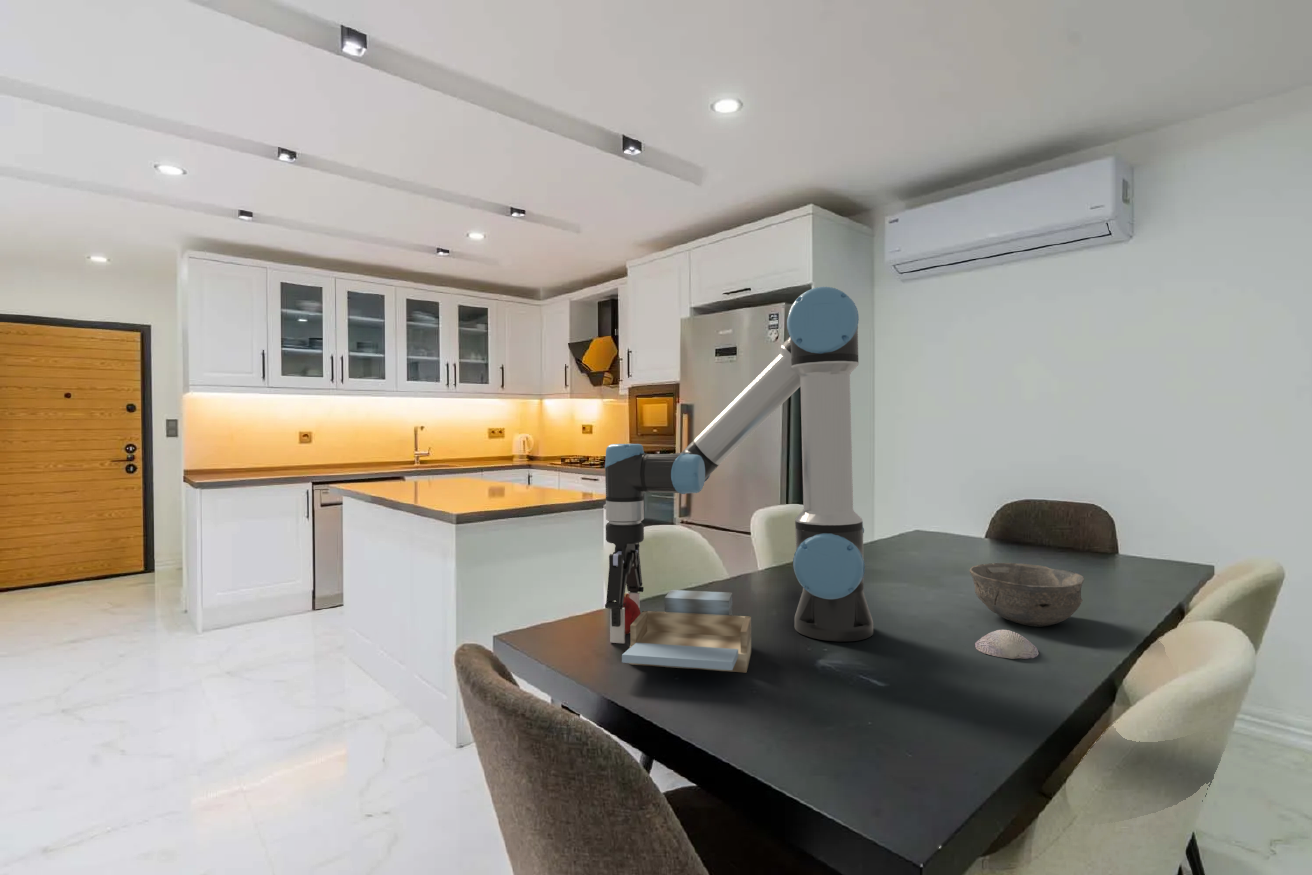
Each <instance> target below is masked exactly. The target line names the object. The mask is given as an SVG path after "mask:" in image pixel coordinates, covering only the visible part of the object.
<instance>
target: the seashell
mask: <svg viewBox="0 0 1312 875" xmlns="http://www.w3.org/2000/svg"><path fill="white" fill-rule="evenodd" d="M974 646H975V649H976V650H977V651H979V652H980V653H981V654H987V655H989V656H993V657H996V658H997V657H998V658H1003V659H1009V660H1014V659H1016V660H1017V659H1023V660H1027V659H1034V658H1037V657H1038V656H1039V650H1038V648H1037V647H1036V646H1035V644H1033V643H1032V642H1031V641H1030V640H1028V639H1027V638H1026V637H1024V636H1023V635H1021V634H1019V633H1018V632H1015V631H1012V630H1009V629H1008V630H1007V629H997V630H993V631H990V632H988V633H987V634H986V635H983V636H981V638H979V639H978V640H976V642H975V643H974Z"/></svg>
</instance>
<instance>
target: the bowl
mask: <svg viewBox="0 0 1312 875" xmlns="http://www.w3.org/2000/svg"><path fill="white" fill-rule="evenodd" d="M969 574H970V576H971V577H972V580H973V585H974V592H975V594H976V597H977V598H978V599H979V600H980V601H981V602H982V604H984V605H985V606H986V608H987V609H989V610H990V611H991V612H993V613H994V614H996V615H998V616H999V617H1002V618H1003V619H1005V620H1007V621H1011V622H1012V623H1013V622H1014V623H1017V624H1019V625H1024V626H1028V627H1048V626H1053V625H1055V624H1056V625H1058V624H1059V623H1062V622H1064V621H1065V620H1067V619H1068V618H1071V616H1072V615H1073V614H1074V613H1075V612H1076V611H1078V609H1079V608H1080V606H1081V605H1082V602H1083V599H1082V586H1083V584H1084V581H1085V576H1083V575H1081V574H1079V573H1077V572H1075V571H1073V570H1072V571H1071V570H1066V569H1058V568H1049V567H1048V566H1045V565H1037V564H1028V563H1013V562H993V563H985V564H982V563H981V564H978V565H973V566H972V567H971V568H970V569H969Z"/></svg>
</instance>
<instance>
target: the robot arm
mask: <svg viewBox="0 0 1312 875" xmlns="http://www.w3.org/2000/svg"><path fill="white" fill-rule="evenodd" d="M786 319H787V320H786V328H787V332H788V335H789V337H788V338H787V339H786V340H785V341H784V342H782V344H781V345H780V353H779V354H778V355H777V356H776V357H775V358H774V359H773V360H772V361H771V362H770V363H769V364H768V365H767V366H766V367H765V368H764V369H763V370H762V371H761V372H760V373H759V374H758V375H757V376H756V377H755V378H754V379H753V380H752V381H751V382H750V383H749V384H748V385H747V386H746V387H745V388H744V389H743V390H742V392H740V393H739V394H738V395H737V396H736V397H735V398H734V400H732V402H730V403H729V404H728V405H727V406H726V407H725V408H724V409H723V410H722V411H721V412H720V413H719V414H718V415H717V416H716V417H715V418H714V419H713V420H712V421H711V422H710V423H709V424H708V425H707V426H706V427H705V428H704V430H702V431H701V433H699V434H698V435H697V436H696V437H695V438H694V440H693V441H691V442H690V443H689V444H688V445H687V446H686V447H685V448H684V449H683V450H682V451H681V452H678V453H657V454H656V453H654V454H653V453H645V451H644V446H643V444H641V443H611V444H609V445H607V447H606V449H605V462H604V464H605V465H604V470H605V471H604V472H605V473H604V474H605V476H604V477H605V480H604V481H605V504H603V506H602V507H603V508H602V509H604V510H605V519H606V521H607V522H606V524H605V541H606V542H607V543H609V544H613V545H614V551H613V553H609V555H608V565H609V568H608V580H607V592H606V602H605V604H604V608H605V609H608V610H609V643H614V644H615V643H616V644H625V643H626V634H625V608H623V602H624V595H625V593H628V594H629V595H630V596H629V597H630V599H632V600H633V601H635V602H636V604H637V605H638V607H639V609H640V608H641V607H640V606H641V605H640V593H643V592H644V588H645V587H644V586H643V579H642V576H643V575H642V569H641V566H642V565H641V558H640V557H641V556H640V543H642V542H643V541H644V539H645V532H644V531H645V524H644V523H643V522H642V521H643V520H644V519H645V511H644V509H645V506H644V505H645V502H644V494H645V493H664V494H665V493H668V494H669V493H670V494H681V495H686V494H697V493H700V492H701V491H702V490H703V488H704V485H705V482H706V481H707V480H708V479H709V478H710V477H711V474H712V473H713V472H714V471H715V470H717V468H718V467H719V466H720V465H721V464H722V463H723V462H724V461H725V460H726V459H727V458H728V457H729V456H730V455H731V454H732V453H733V452H734V451H735V450H737V448H738V447H740V446H741V445H742V444H743V443H744V442H745V441H746V440H747V439H748V438H749V437H750V436H751V435H752V434H753V433H754V432H756V430H757V429H758V428H759V427H760V426H761V425H762V424H763V423H764V422H765V421H767V420H768V419H769V417H771V415H773V414H774V412H776V411H777V410H778V408H781V406H782V405H783V404H784V403H785V402H786V401H787V400H788V399H789V398H790V397H791V396H792V395H793V394H795V392H797V390H798V389H799V388H800V417H801V419H800V420H801V423H800V424H801V459H802V461H801V462H802V463H801V464H802V465H801V466H802V501H803V504H802V505H803V506H802V507H803V509H802V511H801V512H800V513H799V514H798V515H797V516H796V517H795V519H794V520H795V521H794V522H795V523H794V524H795V528H794V531H795V551H794V553H793V558H792V568H793V572H794V574H795V577H796V579H797V581H798V583H799V585H801V587H802V593H801V594H800V598H799V602H798V605H797V608H796V612H795V615H794V629H795V631H796V632H797V633H799V634H801V635H803V636H805V637H808V638H811V639H817V640H821V641H827V642H855V641H856V642H857V641H862V640H866V639H869V638H871V636H873V635H874V621H873V617H872V614H871V611H870V608H869V606H868V602H867V598H866V596H865V593H864V592H865V590H864V582H865V581H864V576H865V571H866V569H865V568H866V566H865V560H864V533H865V529H864V523H863V518H862V517H861V516H860V515H859V514H858V513H857V512H856V511H855V510H854V496H853V491H854V490H853V450H852V448H853V446H852V444H853V442H852V412H851V410H852V408H851V407H852V406H851V405H852V404H851V374H852V372H853V371H854V370H855V369H856V368H857V367H858V366H859V334H858V333H859V321H860V320H859V319H860V318H859V311H858V308H857V306H856V303H855V302H854V301H853V299H852V298H851V297H850V296H849V295H848V294H846V293H845V292H844V291H842V290H840V289H838V288H835V287H830V286H819V287H814V288H813V287H812V288H811V289H808V290H805V292H803V293H802V294H800V295H799V296H798V297H797V298H796V299H795V300H794V302H793V303H792V304H791V307H790V309H789V311H788V316H787V317H786ZM626 590H627V591H626Z"/></svg>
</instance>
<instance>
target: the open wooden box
mask: <svg viewBox="0 0 1312 875" xmlns="http://www.w3.org/2000/svg"><path fill="white" fill-rule="evenodd" d="M629 634H630V640H629V641H630V646H629V648H630V647H632V646H633V645H634V644H635V643H650V644H665V645H681V646H697V647H713V648H728V649H738V658H737V661H736V663H735V665H734V668H733V670H721V669H707V668H687V669H688V670H689V669H690V670H691V669H692V670H704V671H719V672H734V673H735V672H736V673H748V672H747V671H748V668H749V663H750V660H751V655H752V616H749V615H733V592H729V591H727V592H725V591H706V590H705V591H704V590H702V591H701V590H684V589H683V590H681V589H670V590H669V592H668V593H667V594H666V595H665V596H664V611H654V610H653V611H652V610H642V611H641V614H640V615H639V616H638V617H637V618H636V619H635V621H634V622H633V623H632V624H631V625H630V633H629ZM629 648H628V649H629ZM629 665H635V666H648V667H662V668H664V667H665V668H669V667H668V666H662V665H651V664H637V663H629ZM674 668H677V669H683V668H682V667H673V669H674Z"/></svg>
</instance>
